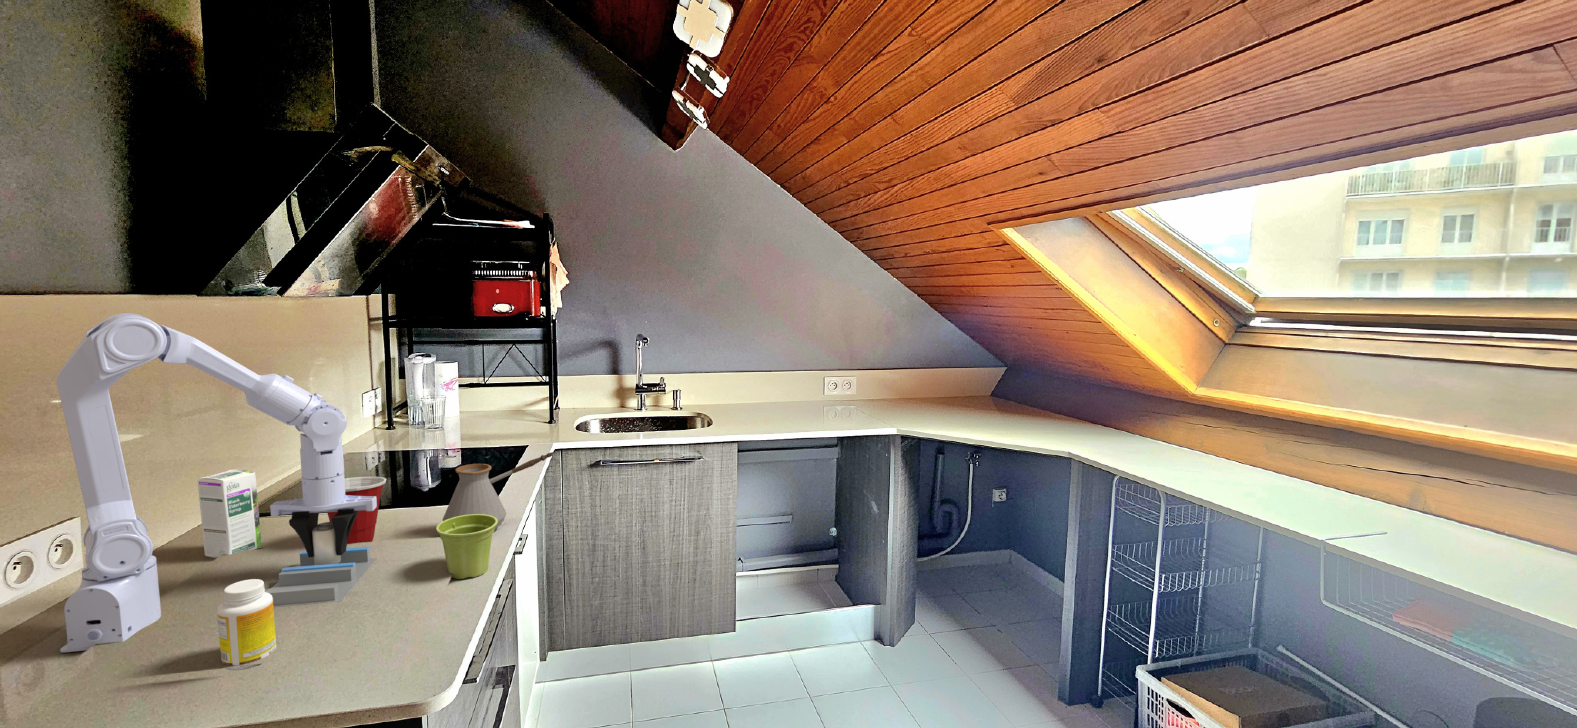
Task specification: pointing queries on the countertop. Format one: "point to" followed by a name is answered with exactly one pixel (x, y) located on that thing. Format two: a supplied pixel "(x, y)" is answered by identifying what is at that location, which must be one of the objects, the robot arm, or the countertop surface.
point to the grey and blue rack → (320, 579)
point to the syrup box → (229, 512)
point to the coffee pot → (481, 491)
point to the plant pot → (467, 543)
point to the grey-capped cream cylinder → (325, 544)
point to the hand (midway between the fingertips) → (327, 553)
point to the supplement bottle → (246, 624)
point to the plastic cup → (365, 519)
